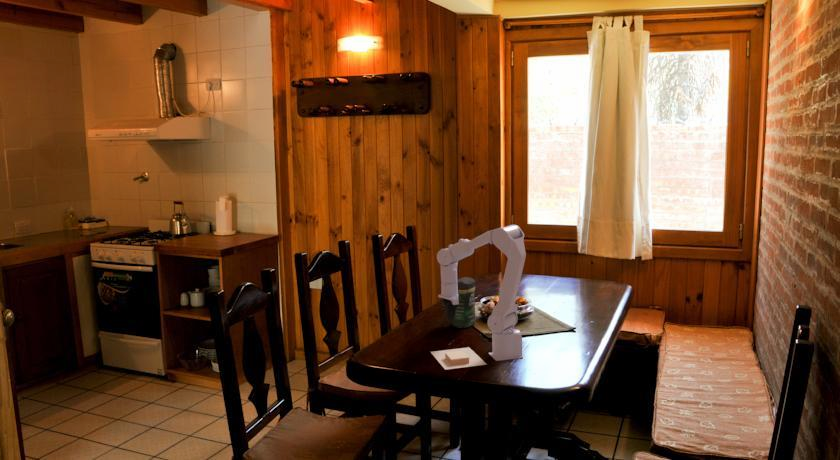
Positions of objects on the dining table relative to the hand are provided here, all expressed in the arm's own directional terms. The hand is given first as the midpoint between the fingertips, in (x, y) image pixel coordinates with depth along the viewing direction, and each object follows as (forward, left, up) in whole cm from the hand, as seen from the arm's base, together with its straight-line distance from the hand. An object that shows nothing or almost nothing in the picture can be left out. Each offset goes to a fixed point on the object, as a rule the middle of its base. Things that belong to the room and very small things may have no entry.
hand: (450, 319), depth 235 cm
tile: (+3, +13, -8) cm, 16 cm away
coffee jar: (-12, -22, -10) cm, 27 cm away
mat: (+2, +14, -9) cm, 17 cm away
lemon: (-19, -7, -10) cm, 22 cm away
